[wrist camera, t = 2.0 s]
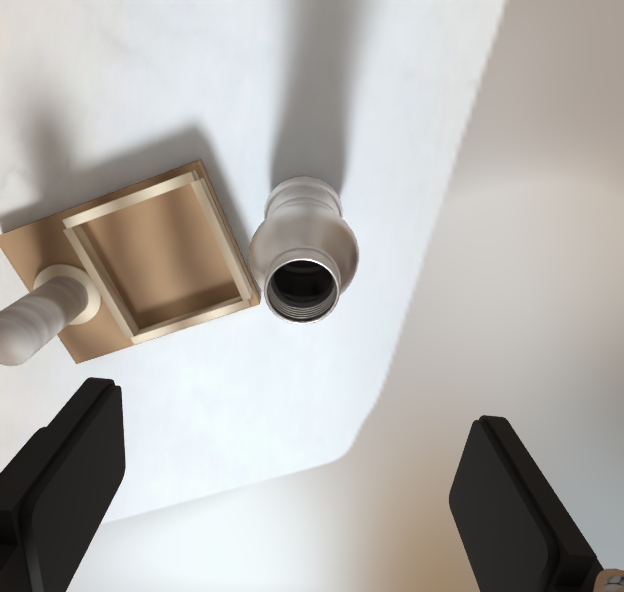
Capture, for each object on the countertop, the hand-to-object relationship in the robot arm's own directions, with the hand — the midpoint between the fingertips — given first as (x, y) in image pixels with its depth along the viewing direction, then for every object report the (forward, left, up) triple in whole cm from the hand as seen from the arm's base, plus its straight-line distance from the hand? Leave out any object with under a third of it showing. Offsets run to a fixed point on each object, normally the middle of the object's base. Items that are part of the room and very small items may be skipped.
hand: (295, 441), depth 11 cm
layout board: (+7, -15, -30) cm, 35 cm away
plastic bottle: (0, 0, -30) cm, 30 cm away
